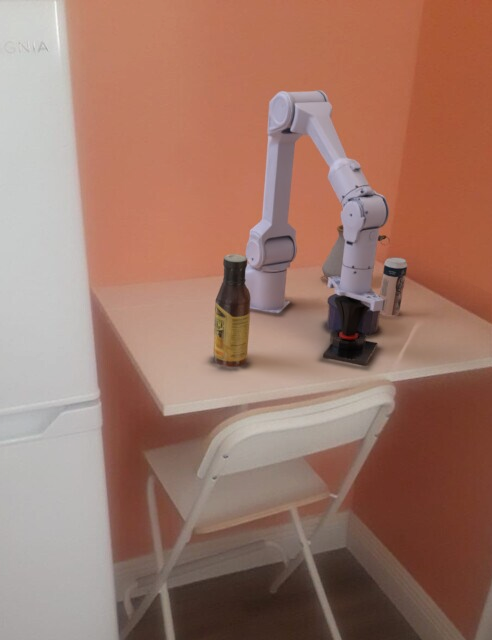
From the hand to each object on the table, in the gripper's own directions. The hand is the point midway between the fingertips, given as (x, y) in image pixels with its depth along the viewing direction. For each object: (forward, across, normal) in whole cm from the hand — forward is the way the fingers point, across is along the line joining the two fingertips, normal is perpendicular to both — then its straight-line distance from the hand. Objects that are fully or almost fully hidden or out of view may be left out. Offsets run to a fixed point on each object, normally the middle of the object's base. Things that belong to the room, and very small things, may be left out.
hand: (348, 334), depth 134 cm
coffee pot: (+3, -30, +23) cm, 38 cm away
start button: (+2, 0, 0) cm, 2 cm away
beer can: (+3, -12, +20) cm, 24 cm away
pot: (+3, -8, +7) cm, 12 cm away
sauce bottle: (+3, -3, -24) cm, 24 cm away
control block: (+3, +2, -1) cm, 4 cm away
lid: (-2, -8, +7) cm, 11 cm away
